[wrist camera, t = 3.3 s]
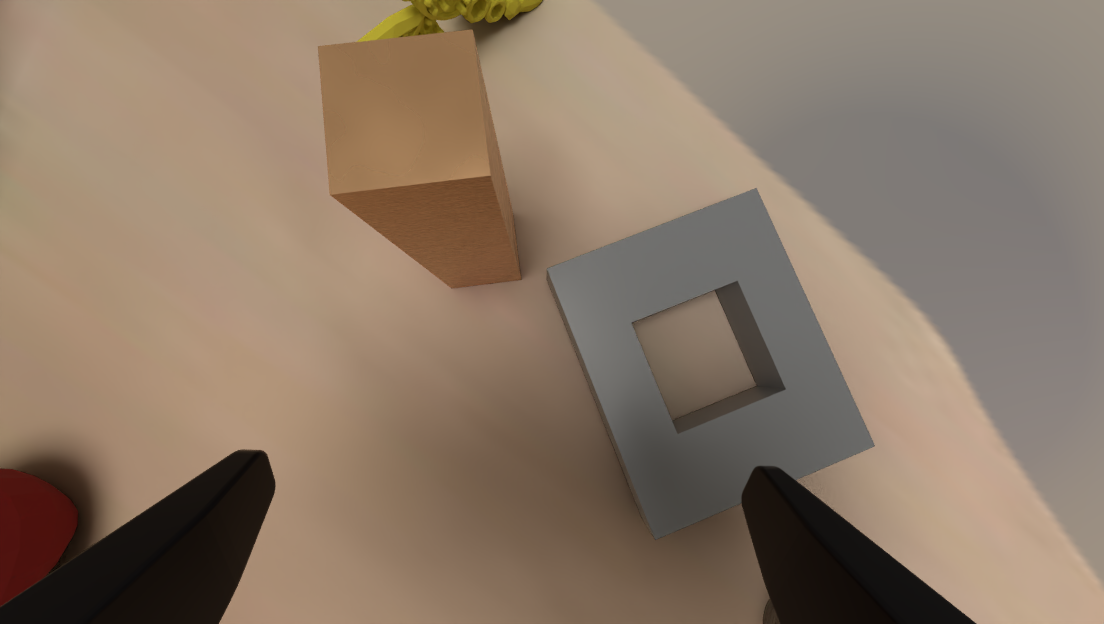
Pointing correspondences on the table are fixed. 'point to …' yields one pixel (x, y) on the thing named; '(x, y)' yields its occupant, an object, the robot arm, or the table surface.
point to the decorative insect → (444, 16)
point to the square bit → (420, 152)
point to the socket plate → (762, 333)
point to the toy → (31, 530)
